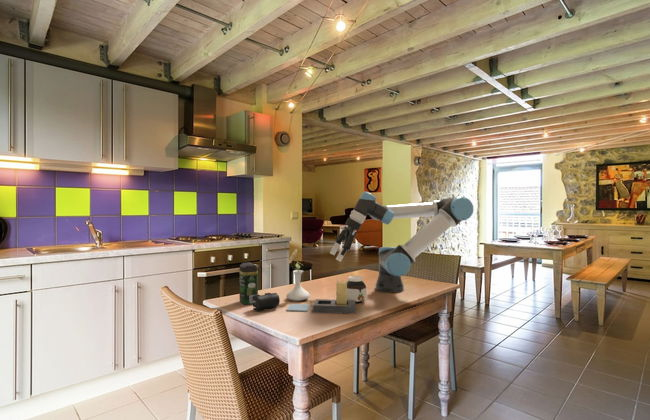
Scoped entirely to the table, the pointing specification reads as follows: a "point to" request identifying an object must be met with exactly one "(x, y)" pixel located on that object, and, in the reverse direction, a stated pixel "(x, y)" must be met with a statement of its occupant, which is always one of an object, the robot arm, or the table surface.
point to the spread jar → (356, 289)
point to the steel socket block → (333, 306)
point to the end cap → (266, 301)
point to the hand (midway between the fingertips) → (334, 257)
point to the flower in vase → (297, 283)
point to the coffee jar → (248, 282)
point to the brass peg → (341, 293)
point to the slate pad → (298, 307)
